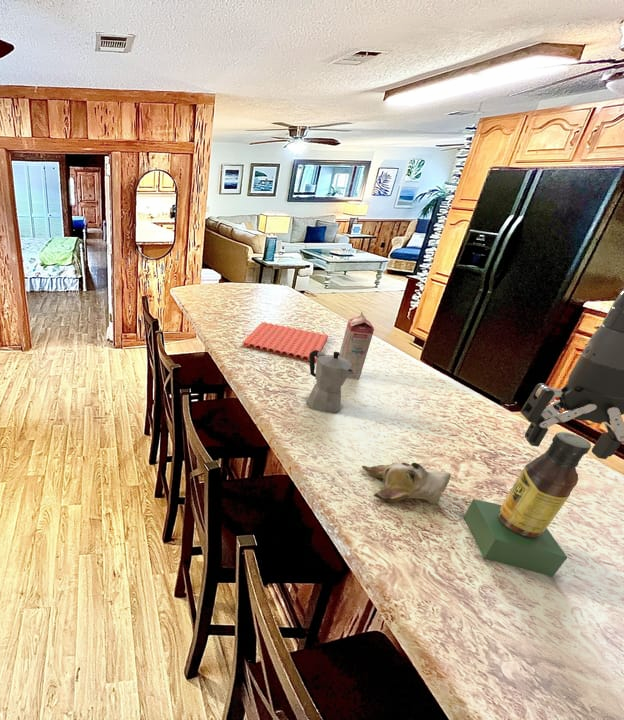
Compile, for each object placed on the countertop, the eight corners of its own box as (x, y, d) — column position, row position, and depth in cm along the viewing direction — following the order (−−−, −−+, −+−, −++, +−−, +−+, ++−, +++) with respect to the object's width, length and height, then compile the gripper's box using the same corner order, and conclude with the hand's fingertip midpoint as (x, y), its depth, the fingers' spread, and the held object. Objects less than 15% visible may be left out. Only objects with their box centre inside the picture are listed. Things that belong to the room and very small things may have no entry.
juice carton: (338, 376, 133) (354, 316, 124) (335, 368, 139) (351, 310, 130) (359, 379, 132) (377, 319, 122) (355, 371, 137) (372, 312, 128)
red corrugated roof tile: (315, 363, 142) (316, 358, 141) (241, 346, 155) (242, 341, 154) (327, 339, 164) (328, 334, 163) (261, 325, 177) (262, 321, 176)
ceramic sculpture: (466, 485, 75) (380, 476, 78) (453, 518, 78) (371, 507, 82) (441, 451, 84) (366, 444, 88) (430, 482, 88) (358, 474, 91)
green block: (521, 534, 76) (536, 512, 73) (550, 580, 67) (567, 557, 64) (461, 520, 78) (473, 498, 76) (481, 562, 70) (495, 539, 67)
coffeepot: (352, 414, 113) (369, 358, 105) (328, 421, 109) (344, 364, 101) (312, 389, 125) (325, 338, 117) (290, 394, 122) (301, 342, 114)
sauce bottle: (499, 506, 74) (549, 421, 65) (543, 527, 70) (603, 439, 61) (491, 524, 70) (543, 436, 62) (537, 547, 66) (600, 456, 57)
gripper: (573, 362, 54) (521, 453, 61) (712, 380, 50) (639, 475, 57) (544, 342, 61) (500, 427, 68) (665, 357, 56) (605, 445, 64)
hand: (564, 449), depth 62 cm, fingers open, 8 cm apart
